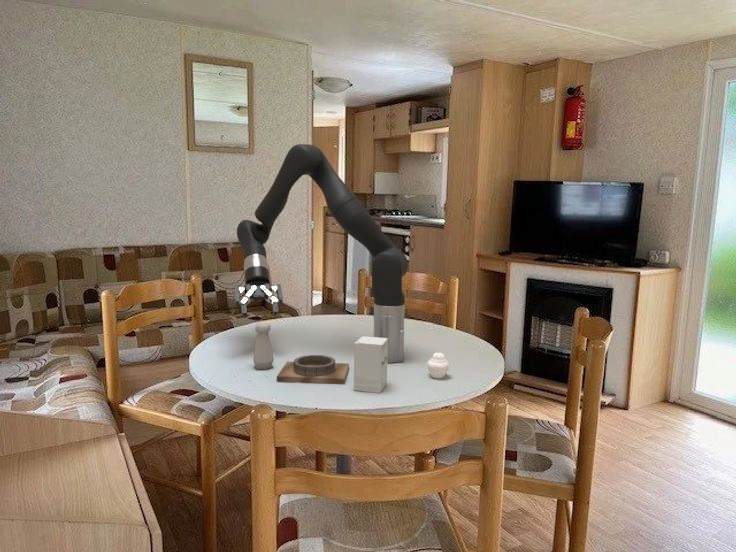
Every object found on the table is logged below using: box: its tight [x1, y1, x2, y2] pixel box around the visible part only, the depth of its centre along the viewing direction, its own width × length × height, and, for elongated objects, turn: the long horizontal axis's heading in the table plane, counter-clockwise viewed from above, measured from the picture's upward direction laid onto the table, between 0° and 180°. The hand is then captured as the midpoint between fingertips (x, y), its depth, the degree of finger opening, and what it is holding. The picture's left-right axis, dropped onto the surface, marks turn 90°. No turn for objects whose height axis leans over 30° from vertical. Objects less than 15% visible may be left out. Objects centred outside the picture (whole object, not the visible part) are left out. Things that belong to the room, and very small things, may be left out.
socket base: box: [276, 354, 350, 385], centre depth 147 cm, size 18×13×4 cm
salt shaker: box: [252, 322, 275, 370], centre depth 152 cm, size 6×6×13 cm
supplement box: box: [353, 335, 388, 394], centre depth 137 cm, size 7×7×13 cm
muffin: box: [426, 352, 450, 379], centre depth 147 cm, size 6×6×7 cm
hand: (260, 315), depth 158 cm, fingers open, 8 cm apart
